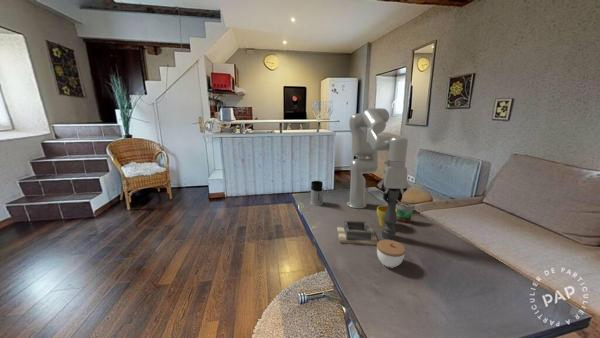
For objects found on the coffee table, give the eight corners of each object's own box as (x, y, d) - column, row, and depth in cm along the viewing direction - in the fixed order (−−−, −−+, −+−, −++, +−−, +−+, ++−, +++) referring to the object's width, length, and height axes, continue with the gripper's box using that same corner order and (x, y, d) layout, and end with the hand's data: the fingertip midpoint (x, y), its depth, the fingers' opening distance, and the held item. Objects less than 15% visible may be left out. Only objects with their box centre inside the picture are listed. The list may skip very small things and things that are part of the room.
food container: (390, 221, 130) (392, 205, 127) (390, 217, 135) (392, 201, 133) (414, 225, 125) (416, 208, 123) (413, 220, 131) (415, 204, 128)
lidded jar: (404, 274, 87) (407, 253, 85) (375, 268, 91) (376, 247, 88) (402, 258, 97) (404, 238, 95) (376, 253, 100) (377, 233, 98)
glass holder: (316, 199, 162) (316, 179, 158) (331, 205, 152) (332, 184, 148) (307, 203, 156) (307, 182, 152) (322, 209, 146) (323, 187, 142)
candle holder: (394, 234, 116) (399, 188, 110) (395, 241, 110) (401, 192, 104) (381, 232, 118) (386, 186, 112) (381, 238, 112) (386, 190, 106)
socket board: (337, 229, 121) (337, 219, 119) (371, 230, 120) (372, 221, 118) (339, 242, 108) (340, 232, 107) (378, 244, 107) (379, 234, 106)
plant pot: (374, 220, 131) (375, 204, 129) (393, 222, 129) (395, 206, 127) (376, 229, 121) (378, 212, 119) (397, 231, 119) (399, 213, 117)
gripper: (379, 165, 102) (376, 203, 106) (418, 166, 101) (413, 204, 105) (375, 162, 109) (372, 197, 113) (411, 162, 108) (407, 198, 112)
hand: (392, 200), depth 109 cm, fingers closed on candle holder, 5 cm apart
